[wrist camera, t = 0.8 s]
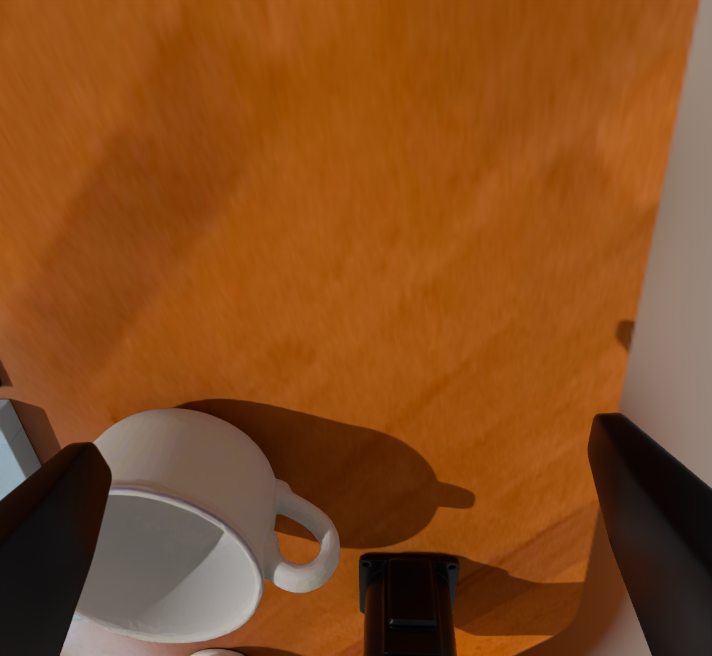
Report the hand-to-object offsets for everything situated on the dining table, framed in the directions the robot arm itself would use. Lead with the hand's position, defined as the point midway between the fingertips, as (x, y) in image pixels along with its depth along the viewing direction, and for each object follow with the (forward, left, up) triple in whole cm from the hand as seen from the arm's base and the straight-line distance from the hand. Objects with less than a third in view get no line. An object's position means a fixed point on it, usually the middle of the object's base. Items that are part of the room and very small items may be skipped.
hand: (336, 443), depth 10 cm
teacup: (-16, +8, -15) cm, 23 cm away
